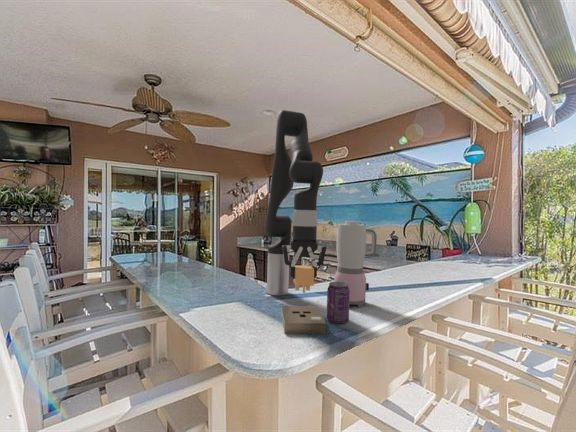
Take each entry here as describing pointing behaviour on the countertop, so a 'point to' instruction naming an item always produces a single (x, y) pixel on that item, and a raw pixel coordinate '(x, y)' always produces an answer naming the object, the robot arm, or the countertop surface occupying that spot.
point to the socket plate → (302, 320)
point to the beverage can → (338, 302)
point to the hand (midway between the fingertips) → (303, 278)
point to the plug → (304, 277)
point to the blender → (353, 258)
